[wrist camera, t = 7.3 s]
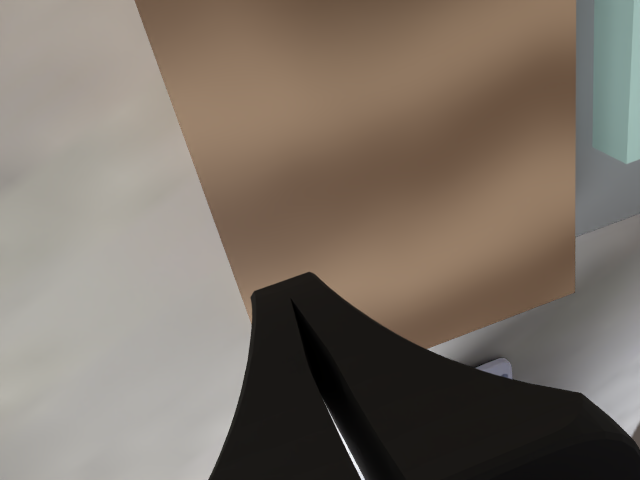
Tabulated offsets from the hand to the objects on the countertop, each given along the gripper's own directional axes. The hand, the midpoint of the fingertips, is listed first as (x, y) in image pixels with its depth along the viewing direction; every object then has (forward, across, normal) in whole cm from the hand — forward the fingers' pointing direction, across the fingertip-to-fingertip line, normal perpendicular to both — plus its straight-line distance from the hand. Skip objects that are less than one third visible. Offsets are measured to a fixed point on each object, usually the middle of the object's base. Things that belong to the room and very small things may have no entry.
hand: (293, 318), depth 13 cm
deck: (+10, -5, 0) cm, 11 cm away
